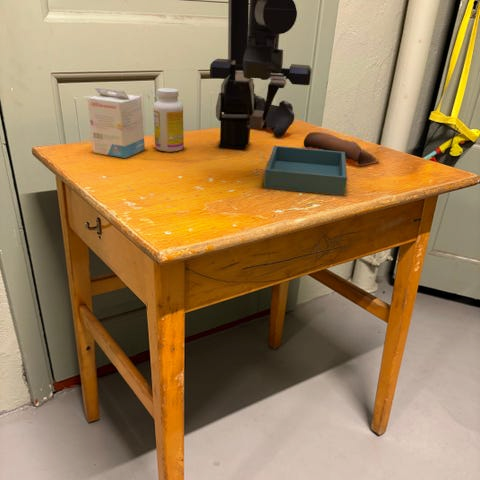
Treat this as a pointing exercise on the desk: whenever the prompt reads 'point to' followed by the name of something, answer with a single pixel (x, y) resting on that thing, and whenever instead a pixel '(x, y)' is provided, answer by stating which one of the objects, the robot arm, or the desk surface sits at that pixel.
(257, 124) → the brown and grey bar
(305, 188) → the cutlery tray
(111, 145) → the ink box
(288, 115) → the game controller
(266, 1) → the robot arm
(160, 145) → the supplement bottle
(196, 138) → the desk surface
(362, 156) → the sunglasses case
